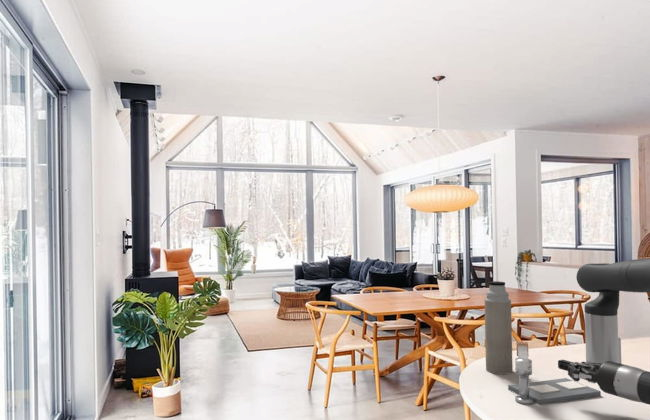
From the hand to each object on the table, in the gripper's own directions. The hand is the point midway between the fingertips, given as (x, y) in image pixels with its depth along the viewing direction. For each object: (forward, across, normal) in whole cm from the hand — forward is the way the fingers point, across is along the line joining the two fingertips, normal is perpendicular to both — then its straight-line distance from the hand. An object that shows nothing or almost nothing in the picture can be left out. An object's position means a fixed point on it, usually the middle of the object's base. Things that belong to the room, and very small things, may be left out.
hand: (559, 363), depth 128 cm
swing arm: (+9, +3, +2) cm, 10 cm away
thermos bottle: (+26, -5, +9) cm, 28 cm away
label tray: (+4, -2, +9) cm, 10 cm away
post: (+3, +10, +9) cm, 14 cm away
